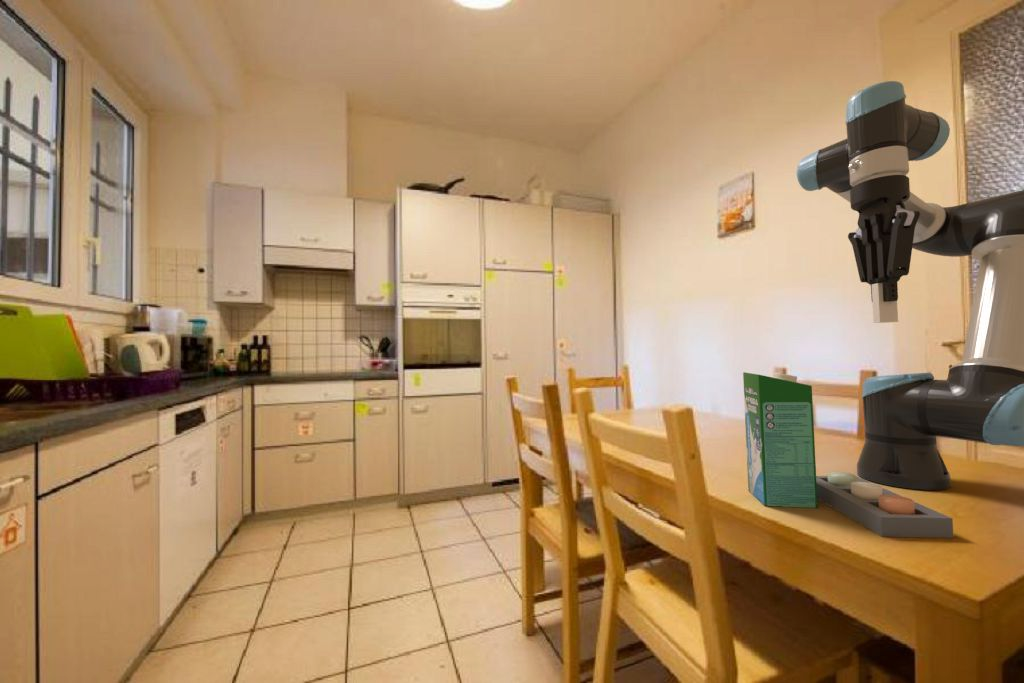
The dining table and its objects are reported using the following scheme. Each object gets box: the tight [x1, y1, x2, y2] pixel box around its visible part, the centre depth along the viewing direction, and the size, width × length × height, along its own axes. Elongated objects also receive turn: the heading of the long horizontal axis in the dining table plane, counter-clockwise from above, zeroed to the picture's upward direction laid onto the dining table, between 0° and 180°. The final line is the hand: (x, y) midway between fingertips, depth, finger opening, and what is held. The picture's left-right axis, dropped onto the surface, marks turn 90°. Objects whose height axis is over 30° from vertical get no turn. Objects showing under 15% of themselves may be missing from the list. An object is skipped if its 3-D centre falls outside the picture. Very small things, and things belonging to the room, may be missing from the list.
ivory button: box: [851, 482, 883, 499], centre depth 77 cm, size 4×4×3 cm
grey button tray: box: [816, 475, 954, 539], centre depth 77 cm, size 22×10×3 cm, turn 173°
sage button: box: [827, 470, 856, 486], centre depth 84 cm, size 4×4×3 cm
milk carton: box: [742, 371, 819, 509], centre depth 84 cm, size 9×9×25 cm
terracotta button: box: [878, 495, 915, 515], centre depth 70 cm, size 4×4×3 cm
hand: (885, 322), depth 71 cm, fingers closed
